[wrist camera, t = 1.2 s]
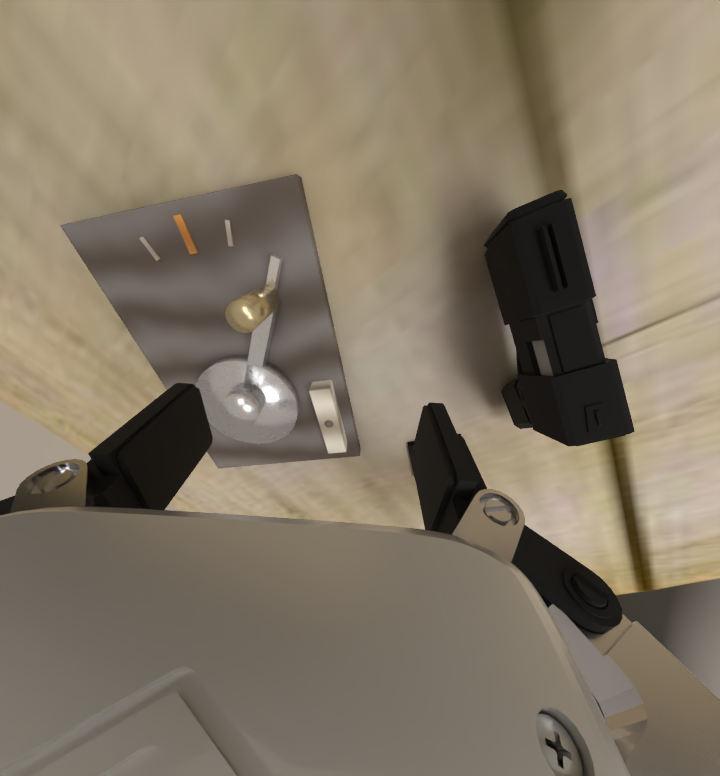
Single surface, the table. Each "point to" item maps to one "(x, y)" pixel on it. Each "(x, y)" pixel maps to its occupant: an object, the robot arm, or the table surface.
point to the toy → (554, 327)
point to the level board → (227, 302)
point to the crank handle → (251, 374)
